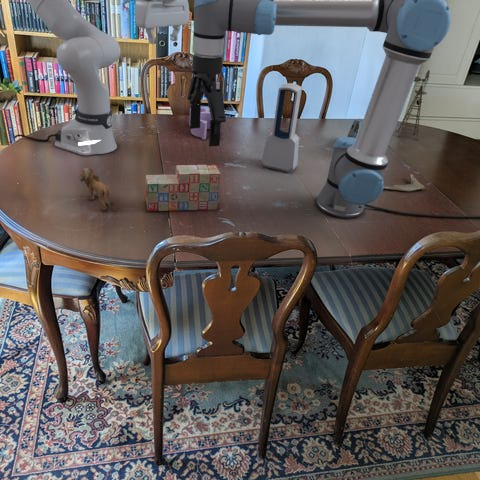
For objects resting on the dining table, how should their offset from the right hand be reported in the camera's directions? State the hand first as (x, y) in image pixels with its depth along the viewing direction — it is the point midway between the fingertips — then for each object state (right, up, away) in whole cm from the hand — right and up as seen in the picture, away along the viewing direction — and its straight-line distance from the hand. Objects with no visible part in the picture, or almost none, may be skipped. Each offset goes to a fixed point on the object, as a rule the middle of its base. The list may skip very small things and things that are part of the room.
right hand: (204, 136), depth 128 cm
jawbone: (+67, -8, +44) cm, 81 cm away
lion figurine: (-33, -17, +14) cm, 40 cm away
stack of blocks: (-8, -18, +16) cm, 25 cm away
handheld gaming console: (+56, +10, +69) cm, 90 cm away
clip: (-6, +19, +73) cm, 75 cm away
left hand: (-14, +32, +16) cm, 38 cm away
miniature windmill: (+89, +21, +93) cm, 130 cm away
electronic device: (+24, -1, +48) cm, 53 cm away
